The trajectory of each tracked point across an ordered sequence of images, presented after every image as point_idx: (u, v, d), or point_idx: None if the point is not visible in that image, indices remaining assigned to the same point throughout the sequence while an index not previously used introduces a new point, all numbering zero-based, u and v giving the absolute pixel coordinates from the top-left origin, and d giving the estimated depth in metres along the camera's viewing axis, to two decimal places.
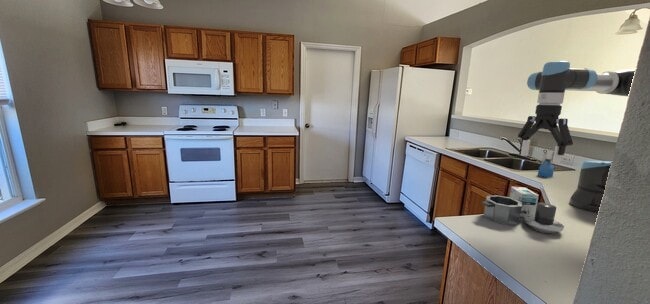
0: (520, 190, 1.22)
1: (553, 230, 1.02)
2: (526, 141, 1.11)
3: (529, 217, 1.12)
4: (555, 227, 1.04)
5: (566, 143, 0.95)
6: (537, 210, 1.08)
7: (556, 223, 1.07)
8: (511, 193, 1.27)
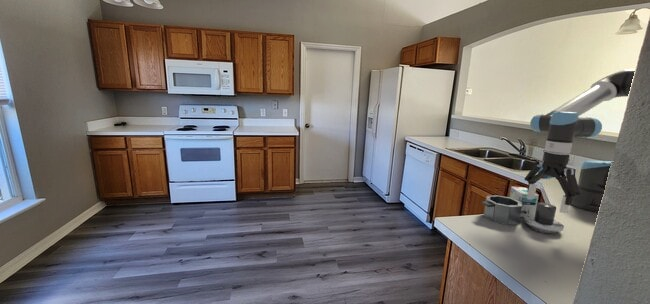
0: (520, 190, 1.22)
1: (553, 230, 1.02)
2: (533, 185, 1.12)
3: (529, 217, 1.12)
4: (555, 227, 1.04)
5: (574, 194, 0.95)
6: (537, 210, 1.08)
7: (556, 223, 1.07)
8: (511, 193, 1.27)
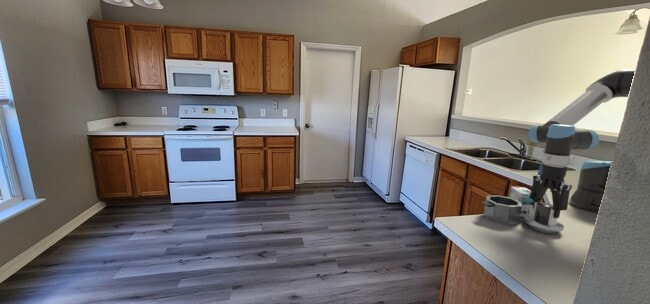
0: (520, 190, 1.22)
1: (553, 230, 1.02)
2: None
3: (529, 217, 1.12)
4: (555, 227, 1.04)
5: (561, 209, 1.00)
6: (537, 210, 1.08)
7: (556, 223, 1.07)
8: (511, 193, 1.27)
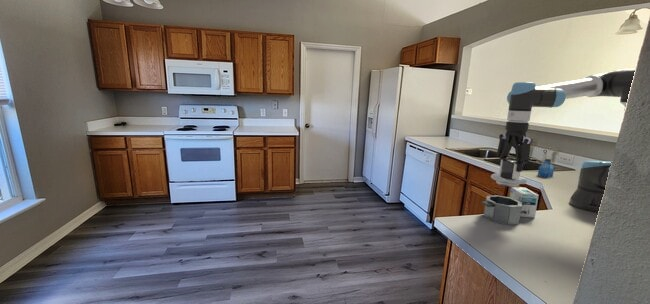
0: (520, 190, 1.22)
1: (516, 183, 1.08)
2: None
3: (496, 174, 1.18)
4: (518, 180, 1.09)
5: (522, 162, 1.06)
6: (502, 166, 1.13)
7: (520, 178, 1.13)
8: (511, 193, 1.27)
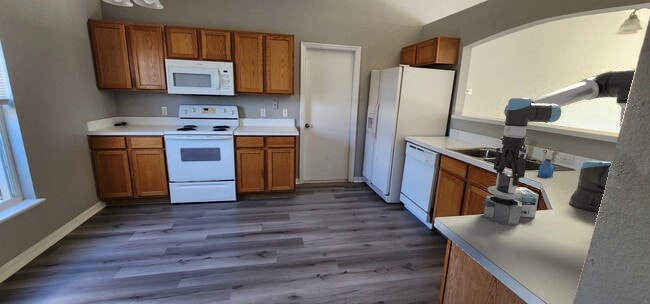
0: (520, 190, 1.22)
1: (512, 196, 1.09)
2: None
3: (493, 187, 1.19)
4: (514, 194, 1.11)
5: (518, 176, 1.07)
6: (499, 179, 1.15)
7: (516, 191, 1.14)
8: None
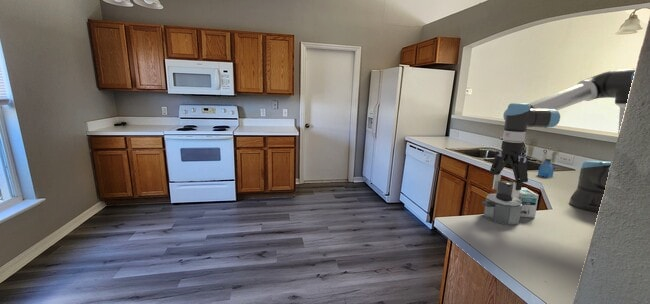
0: (520, 190, 1.22)
1: (511, 205, 1.10)
2: (497, 176, 1.19)
3: (492, 195, 1.20)
4: (513, 202, 1.12)
5: (522, 181, 1.06)
6: (498, 187, 1.16)
7: (515, 199, 1.15)
8: None
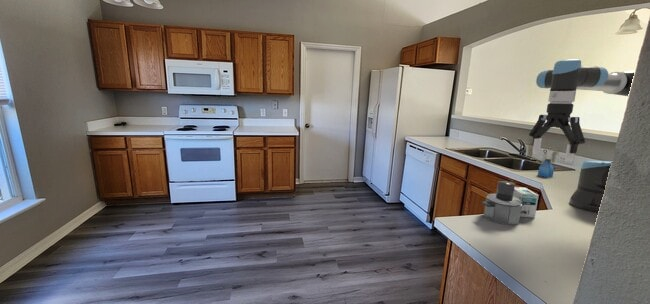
0: (520, 190, 1.22)
1: (511, 205, 1.10)
2: (537, 140, 1.11)
3: (492, 195, 1.20)
4: (513, 202, 1.12)
5: (578, 141, 0.95)
6: (498, 187, 1.16)
7: (515, 199, 1.15)
8: None
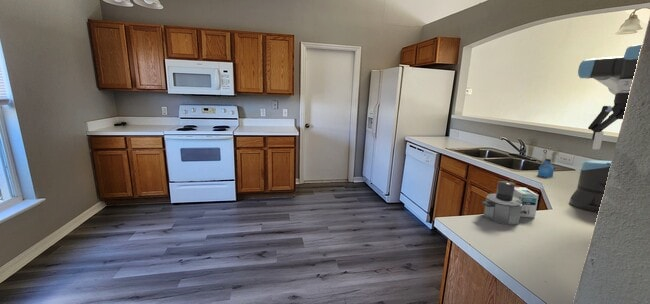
0: (520, 190, 1.22)
1: (511, 205, 1.10)
2: (599, 133, 1.02)
3: (492, 195, 1.20)
4: (513, 202, 1.12)
5: None
6: (498, 187, 1.16)
7: (515, 199, 1.15)
8: None
